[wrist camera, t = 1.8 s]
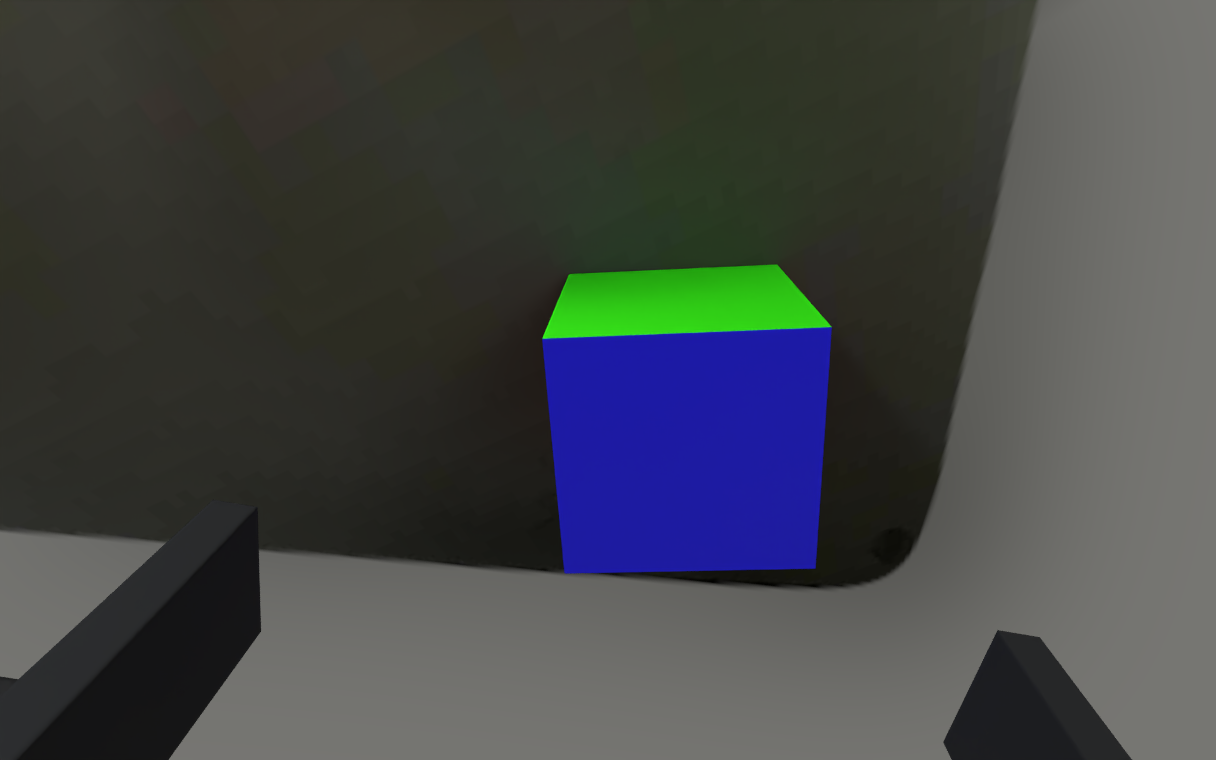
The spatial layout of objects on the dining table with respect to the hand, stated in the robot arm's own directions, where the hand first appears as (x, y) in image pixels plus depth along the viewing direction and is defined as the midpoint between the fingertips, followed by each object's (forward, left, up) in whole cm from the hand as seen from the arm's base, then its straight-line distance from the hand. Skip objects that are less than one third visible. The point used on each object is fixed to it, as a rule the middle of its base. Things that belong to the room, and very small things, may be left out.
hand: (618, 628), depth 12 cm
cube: (-2, +1, -17) cm, 17 cm away
